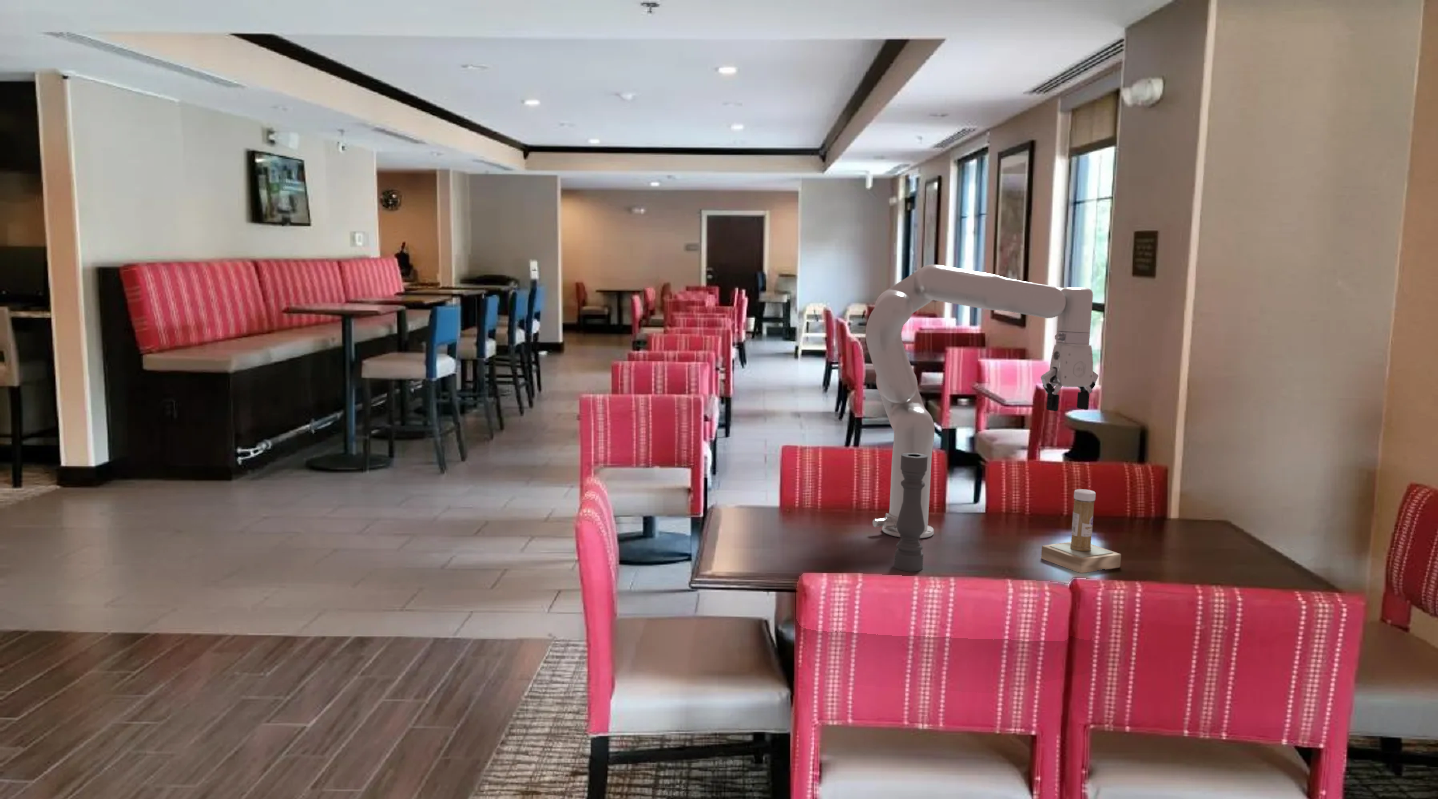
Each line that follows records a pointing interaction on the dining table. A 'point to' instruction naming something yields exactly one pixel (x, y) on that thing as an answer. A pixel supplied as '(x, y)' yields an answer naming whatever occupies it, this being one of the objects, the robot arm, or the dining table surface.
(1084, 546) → the sprinkles bottle
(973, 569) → the dining table surface
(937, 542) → the dining table surface
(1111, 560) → the tray
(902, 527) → the candle holder
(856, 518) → the dining table surface
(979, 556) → the dining table surface
